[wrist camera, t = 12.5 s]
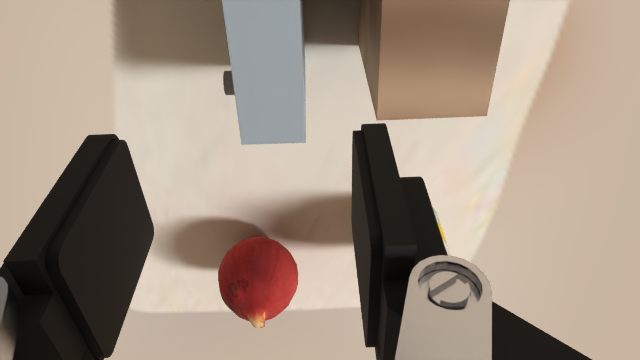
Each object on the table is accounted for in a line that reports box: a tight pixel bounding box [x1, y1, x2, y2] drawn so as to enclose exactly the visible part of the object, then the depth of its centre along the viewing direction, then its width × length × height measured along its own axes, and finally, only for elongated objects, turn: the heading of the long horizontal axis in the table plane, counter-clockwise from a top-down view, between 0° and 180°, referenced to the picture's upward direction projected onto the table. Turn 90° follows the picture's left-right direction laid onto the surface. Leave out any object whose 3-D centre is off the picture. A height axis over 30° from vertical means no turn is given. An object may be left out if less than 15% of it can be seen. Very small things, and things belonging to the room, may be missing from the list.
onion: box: [218, 236, 298, 328], centre depth 36 cm, size 6×6×8 cm
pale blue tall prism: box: [222, 0, 306, 145], centre depth 23 cm, size 10×4×9 cm, turn 1°
